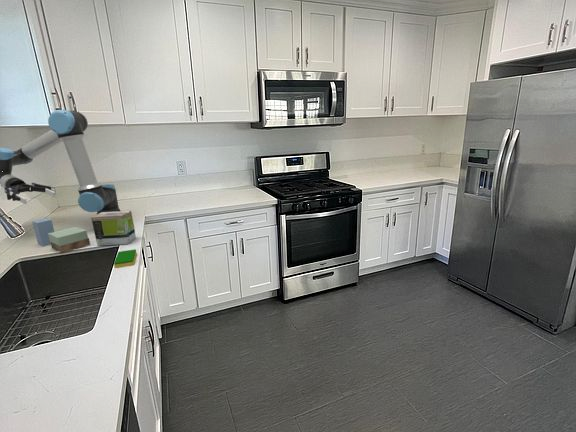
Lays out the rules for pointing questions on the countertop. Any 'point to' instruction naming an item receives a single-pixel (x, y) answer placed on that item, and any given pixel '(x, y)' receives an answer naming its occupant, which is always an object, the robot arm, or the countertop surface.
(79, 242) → the block
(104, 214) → the tea box
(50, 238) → the tower top
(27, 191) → the robot arm
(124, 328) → the countertop surface
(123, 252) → the dish sponge
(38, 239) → the blue block
